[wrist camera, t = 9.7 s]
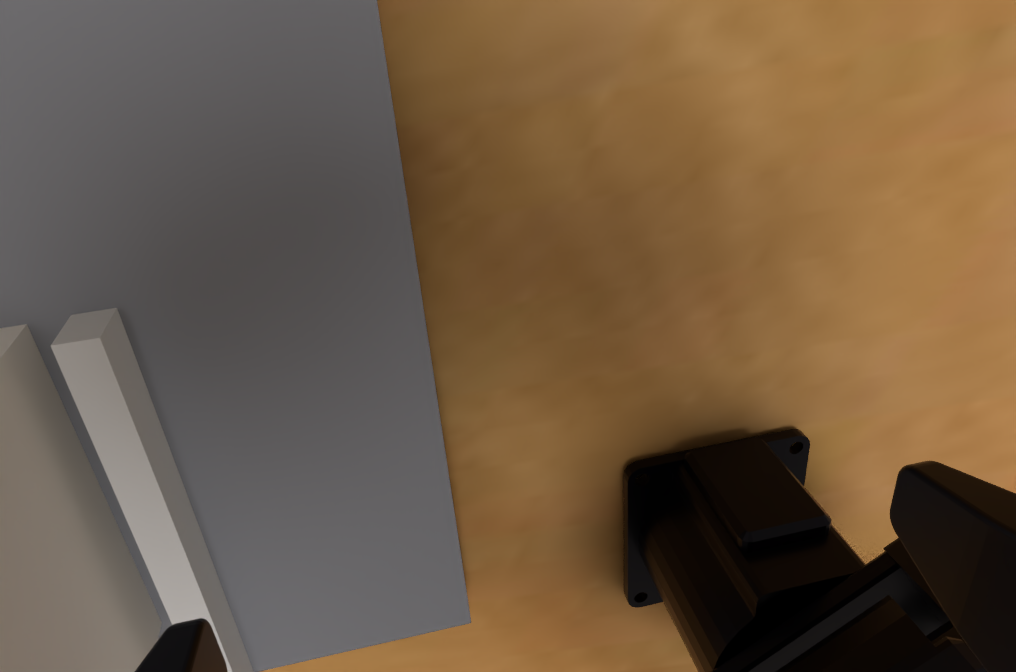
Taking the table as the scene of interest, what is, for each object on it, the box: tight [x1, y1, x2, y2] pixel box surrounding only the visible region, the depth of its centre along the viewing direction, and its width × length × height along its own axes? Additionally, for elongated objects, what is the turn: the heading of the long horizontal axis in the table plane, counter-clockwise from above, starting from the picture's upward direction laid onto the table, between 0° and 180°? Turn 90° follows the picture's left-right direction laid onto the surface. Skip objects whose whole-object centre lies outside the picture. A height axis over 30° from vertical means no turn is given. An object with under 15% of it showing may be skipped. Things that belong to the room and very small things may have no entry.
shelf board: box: [0, 0, 471, 672], centre depth 18 cm, size 24×16×4 cm, turn 5°
